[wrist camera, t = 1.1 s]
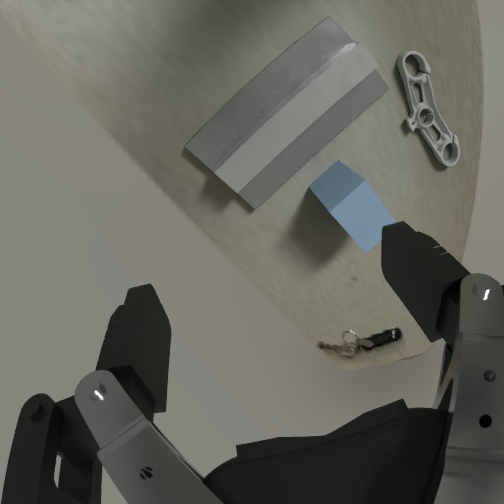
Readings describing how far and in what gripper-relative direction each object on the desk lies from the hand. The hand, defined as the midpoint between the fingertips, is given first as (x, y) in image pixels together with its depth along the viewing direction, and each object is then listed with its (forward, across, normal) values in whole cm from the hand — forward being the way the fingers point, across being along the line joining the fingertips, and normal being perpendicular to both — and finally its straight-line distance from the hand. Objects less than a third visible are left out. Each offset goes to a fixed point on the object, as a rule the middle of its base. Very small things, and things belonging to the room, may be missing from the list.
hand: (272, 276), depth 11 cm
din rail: (+24, -7, -2) cm, 25 cm away
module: (+24, -11, +8) cm, 28 cm away
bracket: (+24, -24, 0) cm, 34 cm away
